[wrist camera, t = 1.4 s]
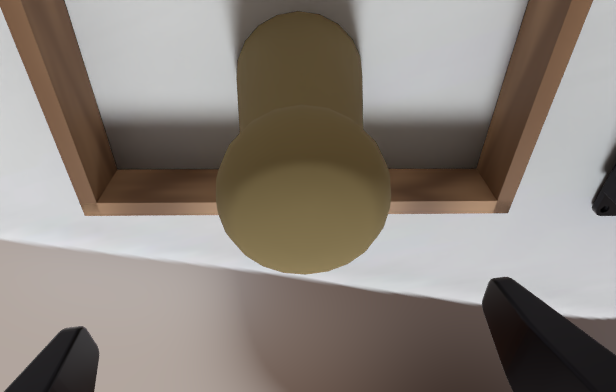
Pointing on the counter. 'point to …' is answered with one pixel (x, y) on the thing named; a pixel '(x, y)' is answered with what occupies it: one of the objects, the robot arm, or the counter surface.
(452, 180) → the wooden u-shaped frame
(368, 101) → the counter surface
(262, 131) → the cork
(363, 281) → the counter surface
